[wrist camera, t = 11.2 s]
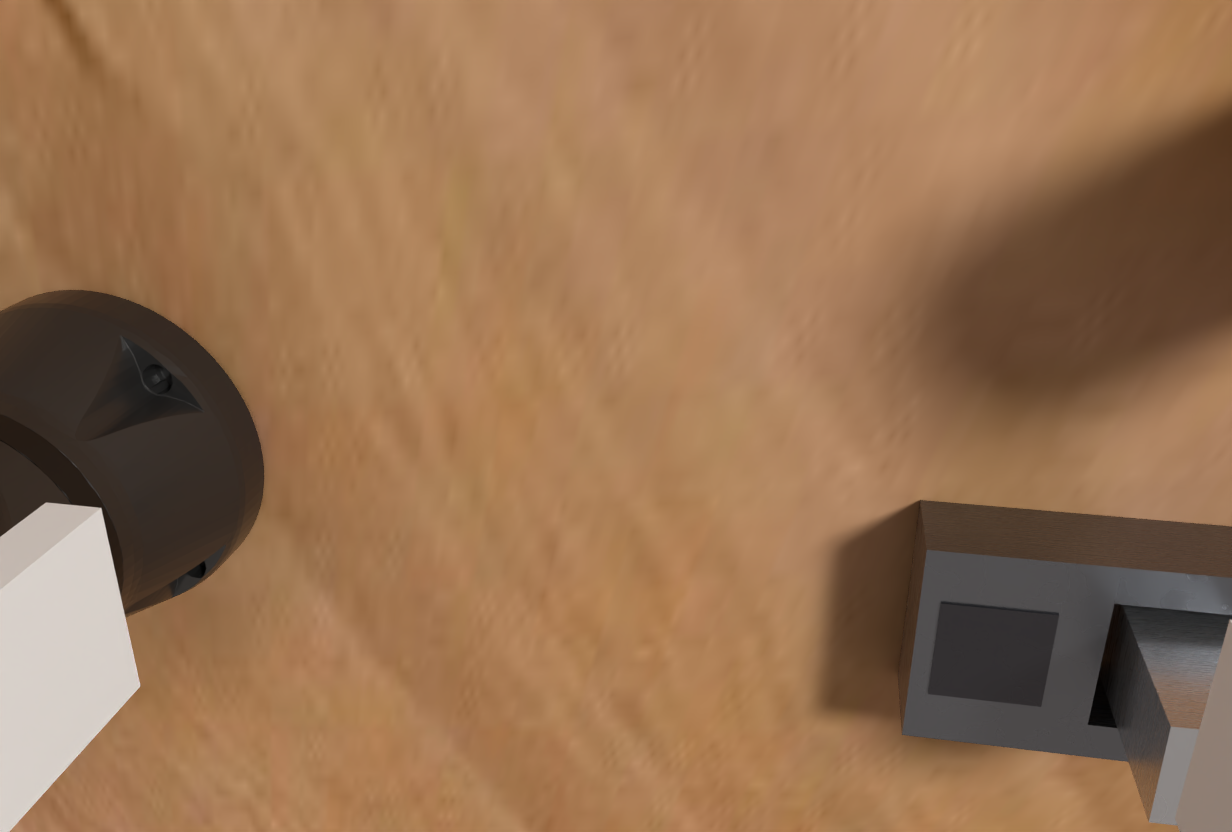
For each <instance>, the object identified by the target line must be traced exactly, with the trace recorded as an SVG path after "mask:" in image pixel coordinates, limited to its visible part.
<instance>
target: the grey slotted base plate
mask: <svg viewBox="0 0 1232 832" xmlns="http://www.w3.org/2000/svg"><path fill="white" fill-rule="evenodd" d="M1114 604H1122V605H1132V606H1142V607H1153V608H1163V609H1173V610H1184V611H1194V612H1204V613H1214V614H1225V615H1232V527H1229V526H1217V525H1205V524H1194V523H1182V522H1170V521H1158V520H1147V519H1135V518H1123V517H1111V516H1100V515H1088V514H1076V513H1064V512H1052V511H1041V510H1029V509H1017V508H1005V507H994V506H982V505H970V504H958V503H947V502H935V501H923V500H920V507H919V515H918V522H917V530H916V538H915V546H914V554H913V561H912V569H911V577H910V585H909V593H908V600H907V608H906V616H905V624H904V632H903V639H902V647H901V655H900V663H899V670H898V685H899V699H900V713H901V727H902V735H909V736H917V737H926V738H934V739H942V740H951V741H959V742H967V743H976V744H984V745H993V746H1001V747H1009V748H1018V749H1026V750H1034V751H1043V752H1051V753H1060V754H1068V755H1076V756H1085V757H1093V758H1101V759H1110V760H1118V761H1127V762H1129V761H1128V758H1127V755H1126V752H1125V749H1124V746H1123V743H1122V740H1121V737H1120V734H1119V731H1118V728H1117V725H1116V722H1115V719H1114V716H1113V713H1112V710H1111V707H1110V704H1109V701H1108V698H1107V695H1106V692H1105V690H1104V687H1103V684H1102V681H1101V678H1100V675H1099V671H1100V666H1101V662H1102V657H1103V653H1104V648H1105V644H1106V639H1107V635H1108V630H1109V626H1110V621H1111V617H1112V612H1113V608H1114Z"/></svg>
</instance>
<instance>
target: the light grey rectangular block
mask: <svg viewBox="0 0 1232 832" xmlns="http://www.w3.org/2000/svg"><path fill="white" fill-rule="evenodd" d="M1229 620H1232V615H1225V614H1214V613H1204V612H1194V611H1184V610H1173V609H1163V608H1153V607H1142V606H1132V605H1122V604H1114V608H1113V612H1112V617H1111V621H1110V626H1109V630H1108V635H1107V639H1106V644H1105V648H1104V653H1103V657H1102V662H1101V666H1100V671H1099V675H1100V678H1101V681H1102V684H1103V687H1104V690H1105V692H1106V695H1107V698H1108V701H1109V704H1110V707H1111V710H1112V713H1113V716H1114V719H1115V722H1116V725H1117V728H1118V731H1119V734H1120V737H1121V740H1122V743H1123V746H1124V749H1125V752H1126V755H1127V758H1128V761H1129V764H1130V767H1131V770H1132V773H1133V776H1134V779H1135V782H1136V785H1137V788H1138V791H1139V794H1140V797H1141V800H1142V803H1143V806H1144V809H1145V812H1146V815H1147V818H1148V821H1149V822H1152V823H1161V824H1170V825H1177V822H1176V820H1175V816H1176V812H1177V808H1178V805H1179V801H1180V798H1181V794H1182V790H1183V787H1184V783H1185V779H1186V776H1187V772H1188V769H1189V765H1190V761H1191V758H1192V754H1193V750H1194V747H1195V743H1196V740H1197V736H1198V732H1199V729H1200V725H1201V721H1202V718H1203V714H1204V711H1205V707H1206V703H1207V700H1208V696H1209V692H1210V689H1211V685H1212V682H1213V678H1214V674H1215V671H1216V667H1217V663H1218V660H1219V656H1220V653H1221V649H1222V645H1223V642H1224V638H1225V634H1226V631H1227V627H1228V624H1229Z"/></svg>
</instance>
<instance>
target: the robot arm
mask: <svg viewBox="0 0 1232 832" xmlns="http://www.w3.org/2000/svg"><path fill="white" fill-rule="evenodd" d="M263 488H264V465H263V456H262V451H261V445H260V442H259V438H258V434H257V431H256V428H255V425H254V422H253V420H252V417H251V415H250V413H249V410H248V408H247V406H246V404H245V402H244V400H243V399H242V397H241V395H240V393H239V392H238V390H237V388H236V387H235V385H234V384H233V382H232V381H231V379H230V378H229V377H228V375H227V374H226V373H225V371H224V370H223V369H222V367H221V366H220V365H219V364H218V363H217V362H216V360H215V359H214V358H213V357H212V356H211V355H210V354H209V353H208V352H207V351H206V350H205V349H204V348H203V347H202V346H201V345H200V344H199V343H198V342H197V341H196V340H194V339H193V338H192V337H191V336H190V335H188V334H187V333H186V332H185V331H183V330H182V329H181V328H179V327H178V326H176V325H175V324H174V323H172V322H170V321H169V320H167V319H166V318H164V317H163V316H161V315H159V314H157V313H155V312H154V311H152V310H150V309H148V308H145V307H143V306H141V305H139V304H136V303H134V302H131V301H129V300H126V299H123V298H120V297H117V296H113V295H109V294H105V293H99V292H93V291H83V290H63V291H54V292H48V293H43V294H39V295H36V296H33V297H30V298H28V299H25V300H23V301H21V302H19V303H17V304H15V305H13V306H10V307H8V308H6V309H4V310H2V311H0V832H9V831H10V830H11V829H12V828H13V827H14V826H15V825H16V824H17V823H18V821H19V820H20V819H21V818H22V817H23V816H24V815H25V814H26V813H27V811H28V810H29V809H30V808H31V807H32V806H33V805H34V804H35V803H36V801H37V800H38V799H39V798H40V797H41V796H42V795H43V794H44V793H45V792H46V790H47V789H48V788H49V787H50V786H51V785H52V784H53V783H54V782H55V780H56V779H57V778H58V777H59V776H60V775H61V774H62V773H63V772H64V770H65V769H66V768H67V767H68V766H69V765H70V764H71V763H72V762H73V760H74V759H75V758H76V757H77V756H78V755H79V754H80V753H81V752H82V750H83V749H84V748H85V747H86V746H87V745H88V744H89V743H90V742H91V740H92V739H93V738H94V737H95V736H96V735H97V734H98V733H99V732H100V730H101V729H102V728H103V727H104V726H105V725H106V724H107V723H108V722H109V720H110V719H111V718H112V717H113V716H114V715H115V714H116V713H117V712H118V710H119V709H120V708H121V707H122V706H123V705H124V704H125V703H126V702H127V701H128V699H129V698H130V697H131V696H132V695H133V694H134V693H135V692H136V691H137V689H138V688H139V687H140V682H139V677H138V673H137V668H136V664H135V659H134V655H133V650H132V646H131V641H130V636H129V632H128V627H127V623H126V618H125V617H128V616H130V615H132V614H135V613H137V612H139V611H142V610H144V609H146V608H149V607H151V606H153V605H156V604H158V603H161V602H163V601H165V600H168V599H170V598H172V597H175V596H177V595H180V594H182V593H184V592H186V591H188V590H190V589H192V588H193V587H195V586H197V585H198V584H200V583H201V582H203V581H204V580H205V579H207V578H208V577H209V576H210V575H212V574H213V573H214V572H215V571H216V570H217V569H218V568H219V567H220V566H221V565H222V564H223V563H224V562H225V561H226V560H227V559H228V558H229V556H230V555H231V554H232V553H233V552H234V551H235V550H236V549H237V548H238V547H239V546H240V545H241V543H242V542H243V541H244V540H245V538H246V537H247V535H248V534H249V532H250V530H251V528H252V527H253V525H254V522H255V520H256V518H257V515H258V512H259V509H260V505H261V501H262V495H263ZM1175 820H1176V822H1177V825H1178V828H1179V830H1180V832H1232V620H1229V624H1228V627H1227V631H1226V634H1225V638H1224V642H1223V645H1222V649H1221V653H1220V656H1219V660H1218V663H1217V667H1216V671H1215V674H1214V678H1213V682H1212V685H1211V689H1210V692H1209V696H1208V700H1207V703H1206V707H1205V711H1204V714H1203V718H1202V721H1201V725H1200V729H1199V732H1198V736H1197V740H1196V743H1195V747H1194V750H1193V754H1192V758H1191V761H1190V765H1189V769H1188V772H1187V776H1186V779H1185V783H1184V787H1183V790H1182V794H1181V798H1180V801H1179V805H1178V808H1177V812H1176V816H1175Z"/></svg>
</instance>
